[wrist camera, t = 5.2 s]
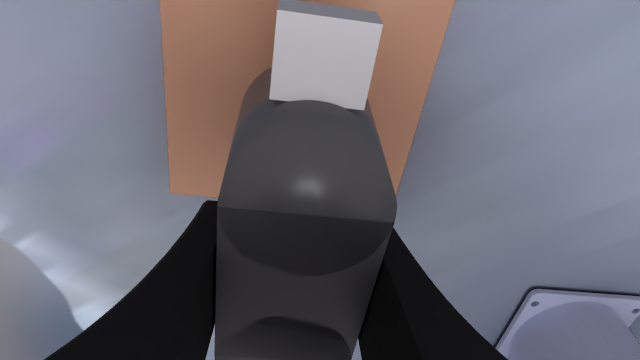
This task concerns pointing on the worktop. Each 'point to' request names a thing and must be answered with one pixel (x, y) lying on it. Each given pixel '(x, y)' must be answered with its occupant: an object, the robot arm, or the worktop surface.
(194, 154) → the terracotta trivet
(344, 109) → the charger plug
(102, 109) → the worktop surface
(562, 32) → the worktop surface
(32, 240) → the worktop surface
